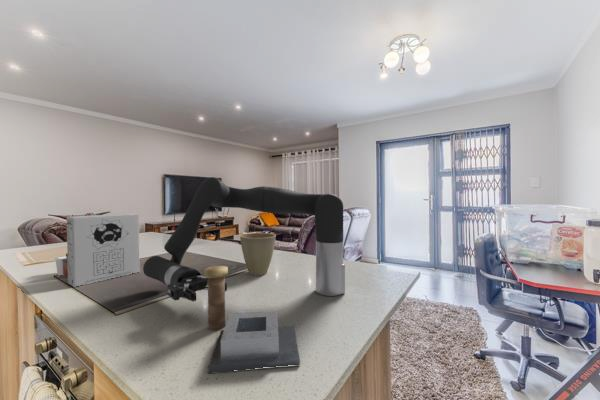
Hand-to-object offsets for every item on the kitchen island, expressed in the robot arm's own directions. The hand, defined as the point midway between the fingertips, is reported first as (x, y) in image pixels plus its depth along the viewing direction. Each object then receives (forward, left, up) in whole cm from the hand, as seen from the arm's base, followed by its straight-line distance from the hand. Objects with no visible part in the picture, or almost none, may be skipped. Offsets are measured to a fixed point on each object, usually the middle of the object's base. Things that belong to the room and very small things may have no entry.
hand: (211, 292), depth 66 cm
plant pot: (-10, -42, -8) cm, 44 cm away
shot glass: (+70, -51, -8) cm, 86 cm away
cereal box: (+50, -43, -8) cm, 66 cm away
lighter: (+65, -48, -8) cm, 81 cm away
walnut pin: (-2, +2, -8) cm, 8 cm away
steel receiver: (-12, +13, -8) cm, 19 cm away
